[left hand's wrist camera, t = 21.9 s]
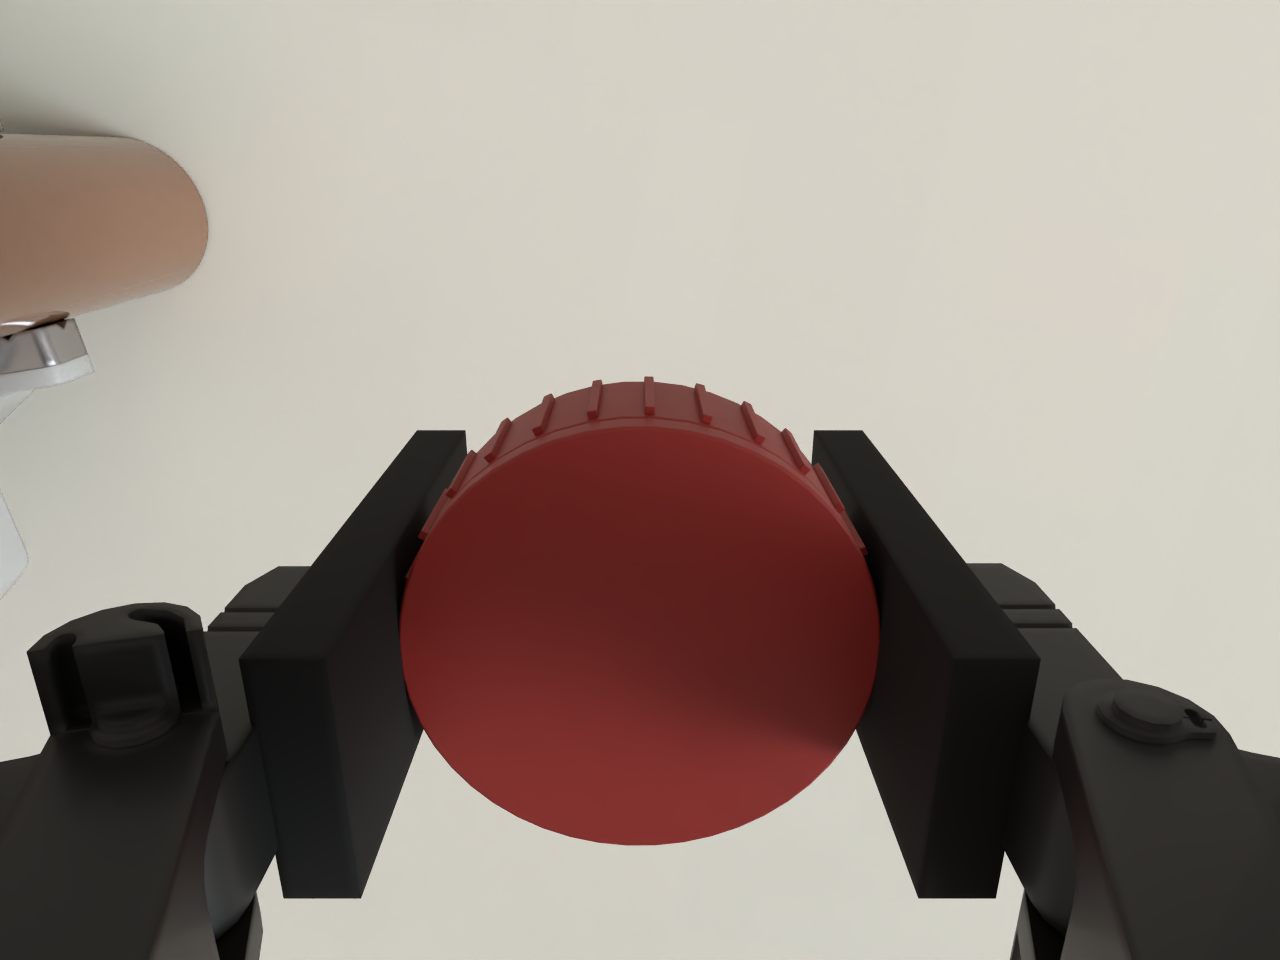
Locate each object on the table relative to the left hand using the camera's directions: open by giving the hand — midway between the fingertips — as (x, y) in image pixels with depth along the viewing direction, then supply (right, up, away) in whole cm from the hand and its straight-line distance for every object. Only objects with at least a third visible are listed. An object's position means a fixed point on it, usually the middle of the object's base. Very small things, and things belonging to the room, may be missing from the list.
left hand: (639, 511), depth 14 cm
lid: (0, -1, -4) cm, 4 cm away
